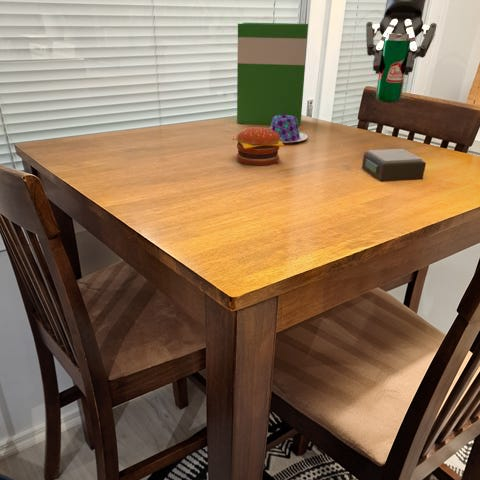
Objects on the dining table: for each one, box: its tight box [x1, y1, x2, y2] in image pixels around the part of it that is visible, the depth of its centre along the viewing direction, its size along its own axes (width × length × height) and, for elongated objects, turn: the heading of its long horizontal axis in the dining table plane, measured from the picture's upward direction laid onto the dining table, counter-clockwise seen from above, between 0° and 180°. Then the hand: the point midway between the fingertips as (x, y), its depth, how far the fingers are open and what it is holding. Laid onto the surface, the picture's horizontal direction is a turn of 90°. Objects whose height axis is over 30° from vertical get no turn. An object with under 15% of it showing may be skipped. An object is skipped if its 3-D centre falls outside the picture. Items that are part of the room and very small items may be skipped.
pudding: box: [269, 115, 309, 144], centre depth 122 cm, size 12×12×5 cm
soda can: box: [375, 33, 411, 103], centre depth 99 cm, size 5×5×12 cm
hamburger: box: [232, 126, 285, 166], centre depth 106 cm, size 9×10×7 cm
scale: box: [361, 148, 427, 182], centre depth 100 cm, size 9×9×4 cm
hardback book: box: [236, 21, 309, 127], centre depth 134 cm, size 18×7×24 cm, turn 82°
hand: (392, 71), depth 98 cm, fingers closed on soda can, 5 cm apart
